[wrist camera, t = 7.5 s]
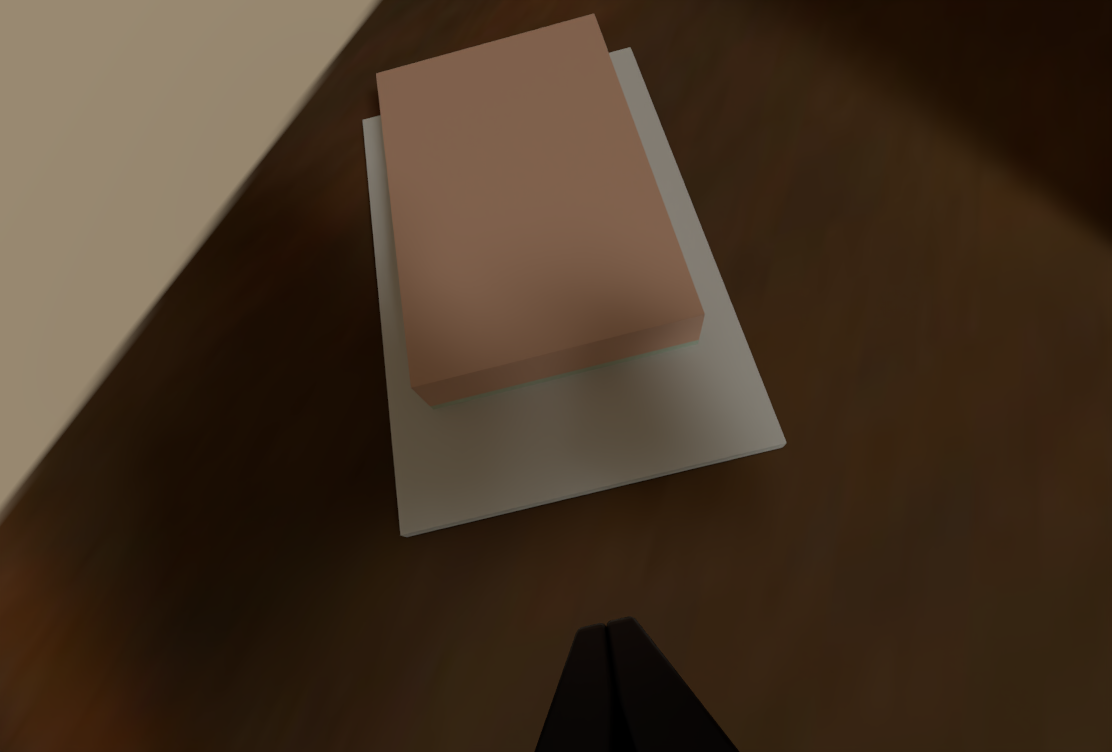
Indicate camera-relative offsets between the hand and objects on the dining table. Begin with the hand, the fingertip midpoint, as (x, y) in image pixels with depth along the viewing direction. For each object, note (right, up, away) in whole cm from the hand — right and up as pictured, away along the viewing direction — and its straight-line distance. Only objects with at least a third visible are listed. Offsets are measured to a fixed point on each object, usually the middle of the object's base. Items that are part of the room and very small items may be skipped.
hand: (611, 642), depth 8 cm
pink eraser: (-1, +4, +9) cm, 10 cm away
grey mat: (-2, +8, +13) cm, 15 cm away
